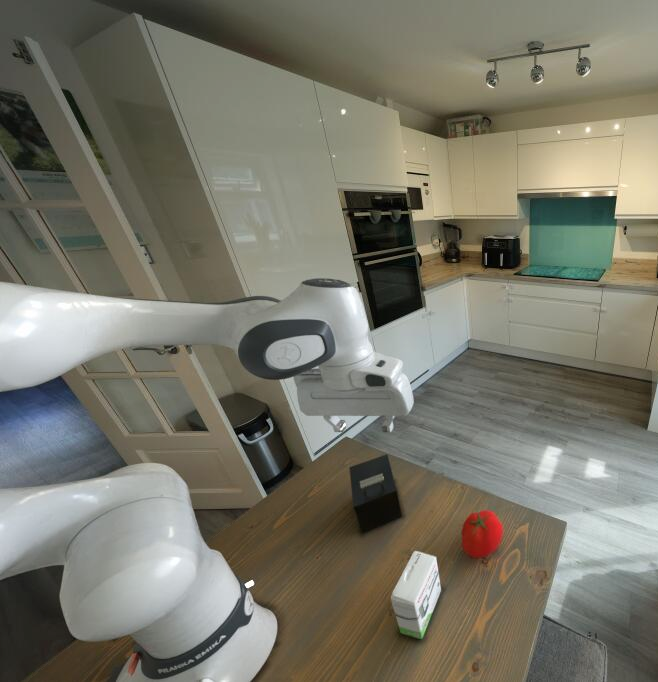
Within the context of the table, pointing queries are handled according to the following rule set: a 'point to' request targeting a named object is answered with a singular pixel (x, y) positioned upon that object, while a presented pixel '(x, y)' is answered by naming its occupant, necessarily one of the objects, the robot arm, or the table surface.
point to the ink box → (416, 594)
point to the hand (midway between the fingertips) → (364, 430)
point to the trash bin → (378, 512)
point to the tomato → (481, 534)
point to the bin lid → (371, 481)
